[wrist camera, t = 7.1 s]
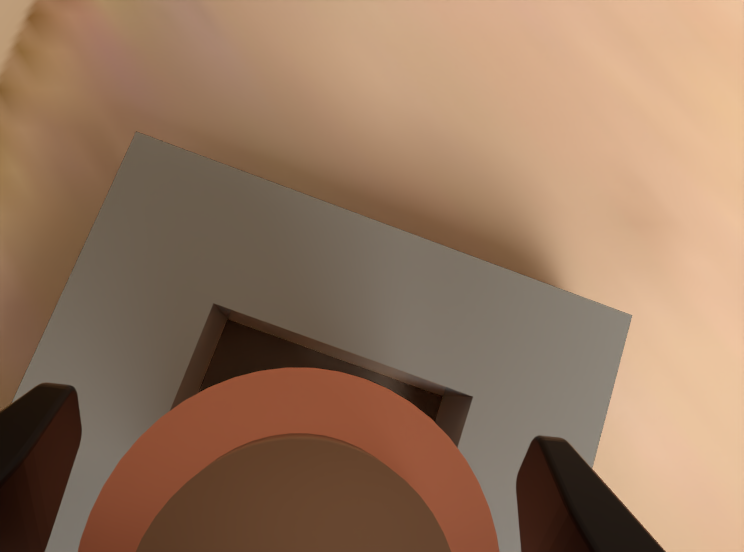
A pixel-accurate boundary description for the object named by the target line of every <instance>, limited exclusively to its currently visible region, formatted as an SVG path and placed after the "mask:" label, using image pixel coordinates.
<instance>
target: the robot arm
mask: <svg viewBox="0 0 744 552" xmlns="http://www.w3.org/2000/svg"><path fill="white" fill-rule="evenodd" d="M81 436H82V425H81V417H80V409H79V402H78V394H77V391H76V389H75V387H73V386H71V385H66V384H57V383H47V382H46V383H41V384H39V385H37V386H35V387H34V388H32V389H31V390H30V391H28V392H27V393H25V394H24V395H23V396H21V397H20V398H18V399H17V400H16V401H14V402H13V403H11V404H10V405H9V406H7V407H6V408H4V409H3V410H2V411H0V552H45V550H46V547H47V544H48V541H49V538H50V535H51V532H52V529H53V526H54V523H55V520H56V517H57V514H58V511H59V508H60V505H61V502H62V499H63V495H64V492H65V489H66V486H67V483H68V480H69V477H70V474H71V471H72V468H73V465H74V462H75V459H76V455H77V452H78V449H79V446H80V442H81ZM516 496H517V508H518V520H519V532H520V544H521V552H666V551H665V550H664V549H663V548H662V547H661V546H660V545H659V544H658V542H657V541H656V540H655V539H654V538H653V537H652V536H651V534H650V533H649V532H648V531H647V530H646V529H645V528H644V527H643V525H642V524H641V523H640V522H639V521H638V520H637V519H636V518H635V516H634V515H633V514H632V513H631V512H630V511H629V510H628V509H627V507H626V506H625V505H624V504H623V503H622V502H621V501H620V500H619V498H618V497H617V496H616V495H615V494H614V493H613V492H612V491H611V489H610V488H609V487H608V486H607V485H606V484H605V483H604V482H603V480H602V479H601V478H600V477H599V476H598V475H597V474H596V472H595V471H594V470H593V469H592V468H591V467H590V466H589V465H588V463H587V462H586V461H585V460H584V459H583V458H582V457H581V456H580V454H579V453H578V452H577V451H576V450H575V449H574V448H573V447H572V445H571V444H570V443H569V442H568V441H566V440H565V439H563V438H560V437H552V436H542V435H539V436H536V437H534V438H533V440H532V441H531V443H530V445H529V448H528V450H527V452H526V455H525V457H524V459H523V462H522V464H521V466H520V469H519V471H518V474H517V479H516Z"/></svg>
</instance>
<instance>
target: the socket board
mask: <svg viewBox="0 0 744 552" xmlns="http://www.w3.org/2000/svg"><path fill="white" fill-rule="evenodd" d="M631 318H632V315H630V314H627V313H625V312H622V311H619V310H616V309H614V308H611V307H608V306H606V305H603V304H600V303H598V302H595V301H592V300H589V299H587V298H584V297H581V296H579V295H576V294H573V293H571V292H568V291H565V290H562V289H560V288H557V287H554V286H552V285H549V284H546V283H544V282H541V281H538V280H536V279H533V278H530V277H527V276H525V275H522V274H519V273H517V272H514V271H511V270H509V269H506V268H503V267H500V266H498V265H495V264H492V263H490V262H487V261H484V260H482V259H479V258H476V257H474V256H471V255H468V254H465V253H463V252H460V251H457V250H455V249H452V248H449V247H447V246H444V245H441V244H438V243H436V242H433V241H430V240H428V239H425V238H422V237H420V236H417V235H414V234H411V233H409V232H406V231H403V230H401V229H398V228H395V227H393V226H390V225H387V224H385V223H382V222H379V221H376V220H374V219H371V218H368V217H366V216H363V215H360V214H358V213H355V212H352V211H349V210H347V209H344V208H341V207H339V206H336V205H333V204H331V203H328V202H325V201H322V200H320V199H317V198H314V197H312V196H309V195H306V194H304V193H301V192H298V191H296V190H293V189H290V188H287V187H285V186H282V185H279V184H277V183H274V182H271V181H269V180H266V179H263V178H260V177H258V176H255V175H252V174H250V173H247V172H244V171H242V170H239V169H236V168H234V167H231V166H228V165H225V164H223V163H220V162H217V161H215V160H212V159H209V158H207V157H204V156H201V155H198V154H196V153H193V152H190V151H188V150H185V149H182V148H180V147H177V146H174V145H171V144H169V143H166V142H163V141H161V140H158V139H155V138H153V137H150V136H147V135H145V134H142V133H139V132H136V133H135V135H134V137H133V139H132V142H131V144H130V146H129V148H128V150H127V152H126V155H125V157H124V159H123V161H122V163H121V166H120V168H119V170H118V172H117V174H116V176H115V179H114V181H113V183H112V185H111V187H110V190H109V192H108V194H107V196H106V198H105V200H104V203H103V205H102V207H101V209H100V211H99V214H98V216H97V218H96V220H95V222H94V224H93V227H92V229H91V231H90V233H89V235H88V237H87V240H86V242H85V244H84V246H83V248H82V251H81V253H80V255H79V257H78V259H77V261H76V264H75V266H74V268H73V270H72V272H71V275H70V277H69V279H68V281H67V283H66V285H65V288H64V290H63V292H62V294H61V296H60V299H59V301H58V303H57V305H56V307H55V309H54V312H53V314H52V316H51V318H50V320H49V322H48V325H47V327H46V329H45V331H44V333H43V336H42V338H41V340H40V342H39V344H38V346H37V349H36V351H35V353H34V355H33V357H32V360H31V362H30V364H29V366H28V368H27V370H26V373H25V375H24V377H23V379H22V381H21V384H20V386H19V388H18V390H17V392H16V394H15V397H14V399H13V401H12V403H13V402H14V401H16V400H17V399H18V398H20V397H21V396H23V395H24V394H25V393H27V392H28V391H30V390H31V389H32V388H34V387H35V386H37V385H39V384H41V383H46V382H47V383H57V384H66V385H71V386H73V387H75V389H76V391H77V394H78V402H79V409H80V417H81V425H82V436H81V442H80V446H79V449H78V452H77V455H76V459H75V462H74V465H73V468H72V471H71V474H70V477H69V480H68V483H67V486H66V489H65V492H64V495H63V499H62V502H61V505H60V508H59V511H58V514H57V517H56V520H55V523H54V526H53V529H52V532H51V535H50V538H49V541H48V544H47V547H46V550H45V552H78V548H79V544H80V540H81V537H82V534H83V532H84V529H85V526H86V523H87V520H88V517H89V514H90V512H91V510H92V508H93V506H94V504H95V502H96V500H97V498H98V496H99V494H100V491H101V489H102V487H103V485H104V484H105V482H106V481H107V479H108V478H109V476H110V475H111V473H112V472H113V470H114V469H115V467H116V466H117V464H118V462H119V461H120V460H121V458H122V457H123V456H124V455H125V454H126V452H127V451H128V450H129V449H130V448H131V447H132V445H133V444H134V443H135V442H136V441H137V439H138V438H139V437H140V436H141V435H142V434H143V433H145V432H146V431H147V430H148V429H149V428H150V427H151V426H152V425H153V424H154V423H155V422H156V421H157V420H159V419H160V418H161V417H162V416H164V415H165V414H166V413H168V412H169V411H171V410H172V409H173V408H175V407H176V406H177V405H179V404H180V403H182V402H183V401H185V400H186V399H188V398H190V397H192V396H194V395H196V394H197V393H198V392H199V389H200V387H201V384H202V382H203V379H204V377H205V374H206V372H207V369H208V367H209V364H210V362H211V359H212V356H213V354H214V351H215V349H216V346H217V344H218V341H219V339H220V336H221V334H222V331H223V329H224V326H225V324H226V321H227V319H228V320H231V321H234V322H237V323H239V324H242V325H245V326H248V327H251V328H253V329H256V330H259V331H262V332H265V333H267V334H270V335H273V336H276V337H279V338H281V339H284V340H287V341H290V342H292V343H295V344H298V345H301V346H304V347H306V348H309V349H312V350H315V351H318V352H320V353H323V354H326V355H329V356H331V357H334V358H337V359H340V360H343V361H345V362H348V363H351V364H354V365H357V366H359V367H362V368H365V369H368V370H371V371H373V372H376V373H379V374H382V375H384V376H387V377H390V378H393V379H396V380H398V381H401V382H404V383H407V384H410V385H412V386H415V387H418V388H421V389H423V390H426V391H429V392H432V393H435V394H437V395H440V396H443V397H442V401H441V404H440V407H439V410H438V413H437V416H436V420H435V423H436V424H437V425H438V426H439V427H440V428H441V429H442V430H443V431H444V432H445V433H446V434H447V435H448V436H449V438H450V439H451V440H452V441H453V443H454V444H455V445H456V447H457V448H458V449H459V451H460V452H461V454H462V455H463V456H464V458H465V459H466V460H467V462H468V464H469V466H470V468H471V469H472V471H473V473H474V475H475V476H476V478H477V480H478V482H479V484H480V486H481V489H482V491H483V494H484V496H485V498H486V501H487V503H488V506H489V508H490V512H491V515H492V519H493V523H494V526H495V530H496V534H497V539H498V546H499V552H521V544H520V532H519V520H518V508H517V496H516V479H517V474H518V471H519V469H520V466H521V464H522V462H523V459H524V457H525V455H526V452H527V450H528V448H529V445H530V443H531V441H532V440H533V438H534V437H536V436H539V435H542V436H552V437H560V438H563V439H565V440H566V441H568V442H569V443H570V444H571V445H572V447H573V448H574V449H575V450H576V451H577V452H578V453H579V454H580V456H581V457H582V458H583V459H584V460H585V461H586V462H587V463H588V465H589V466H590V467H591V468H592V467H593V464H594V460H595V456H596V452H597V448H598V444H599V441H600V437H601V433H602V429H603V425H604V421H605V418H606V414H607V410H608V406H609V402H610V398H611V395H612V391H613V387H614V383H615V379H616V375H617V372H618V368H619V364H620V360H621V356H622V352H623V349H624V345H625V341H626V337H627V333H628V330H629V326H630V322H631Z"/></svg>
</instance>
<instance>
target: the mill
mask: <svg viewBox="0 0 744 552" xmlns="http://www.w3.org/2000/svg"><path fill="white" fill-rule="evenodd" d="M78 552H499V546H498V539H497V534H496V530H495V526H494V523H493V519H492V515H491V512H490V508H489V506H488V503H487V501H486V498H485V496H484V494H483V491H482V489H481V486H480V484H479V482H478V480H477V478H476V476H475V475H474V473H473V471H472V469H471V468H470V466H469V464H468V462H467V460H466V459H465V458H464V456H463V455H462V454H461V452H460V451H459V449H458V448H457V447H456V445H455V444H454V443H453V441H452V440H451V439H450V438H449V436H448V435H447V434H446V433H445V432H444V431H443V430H442V429H441V428H440V427H439V426H438V425H437V424H436V423H435V422H434V421H433V420H432V419H431V418H430V417H429V416H427V415H426V414H425V413H423V412H422V411H421V410H420V409H418V408H417V407H416V406H415V405H413V404H412V403H411V402H409V401H408V400H406V399H404V398H403V397H401V396H399V395H398V394H396V393H394V392H393V391H391V390H389V389H387V388H385V387H383V386H380V385H378V384H376V383H373V382H371V381H369V380H367V379H364V378H360V377H357V376H353V375H350V374H346V373H343V372H339V371H332V370H325V369H318V368H279V369H270V370H262V371H257V372H253V373H249V374H245V375H241V376H237V377H234V378H231V379H229V380H226V381H224V382H221V383H218V384H216V385H213V386H211V387H208V388H207V389H205V390H203V391H201V392H199V393H197V394H196V395H194V396H192V397H190V398H188V399H186V400H185V401H183V402H182V403H180V404H179V405H177V406H176V407H175V408H173V409H172V410H171V411H169V412H168V413H166V414H165V415H164V416H162V417H161V418H160V419H159V420H157V421H156V422H155V423H154V424H153V425H152V426H151V427H150V428H149V429H148V430H147V431H146V432H145V433H143V434H142V435H141V436H140V437H139V438H138V439H137V441H136V442H135V443H134V444H133V445H132V447H131V448H130V449H129V450H128V451H127V452H126V454H125V455H124V456H123V457H122V458H121V460H120V461H119V462H118V464H117V466H116V467H115V469H114V470H113V472H112V473H111V475H110V476H109V478H108V479H107V481H106V482H105V484H104V485H103V487H102V489H101V491H100V494H99V496H98V498H97V500H96V502H95V504H94V506H93V508H92V510H91V512H90V514H89V517H88V520H87V523H86V526H85V529H84V532H83V534H82V537H81V540H80V544H79V548H78Z"/></svg>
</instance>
